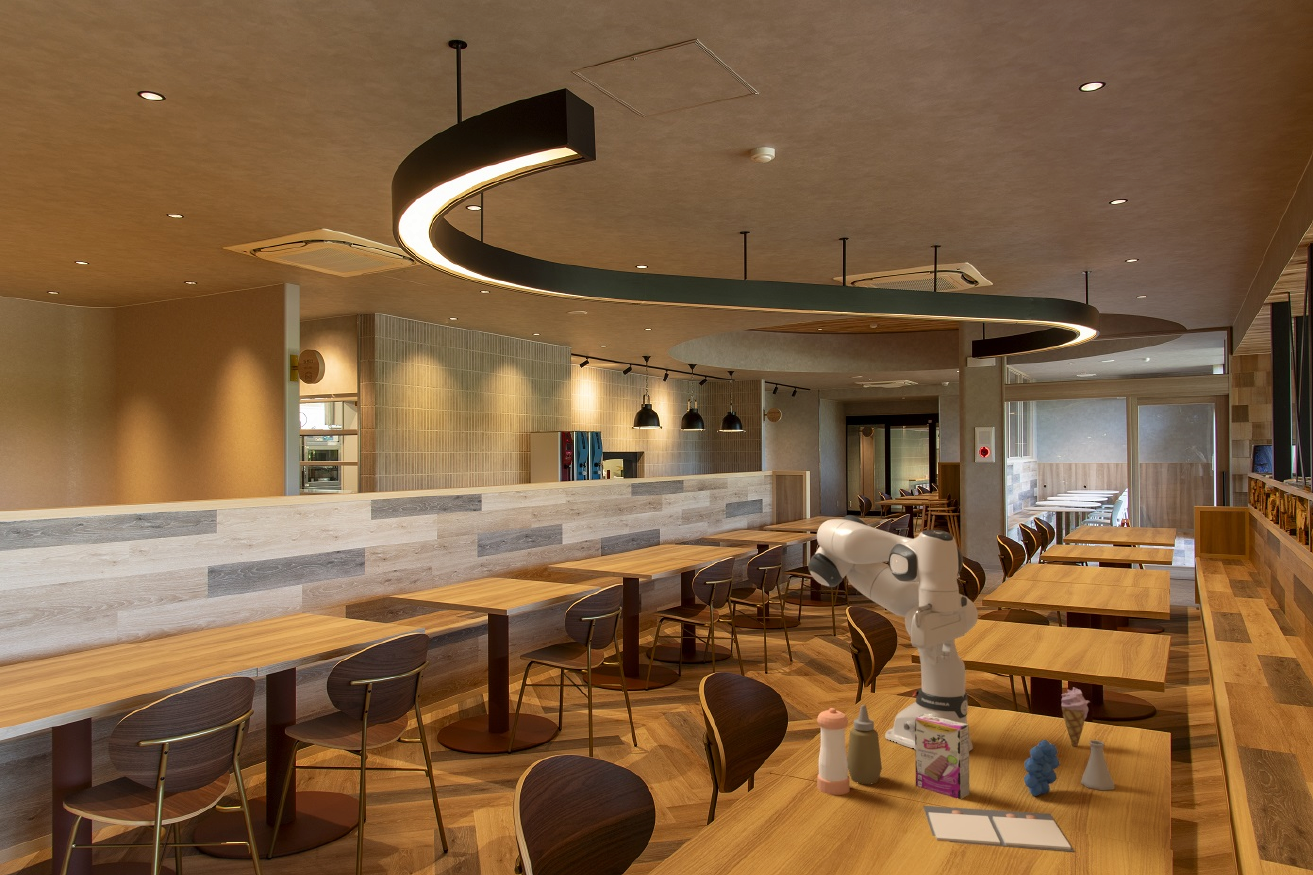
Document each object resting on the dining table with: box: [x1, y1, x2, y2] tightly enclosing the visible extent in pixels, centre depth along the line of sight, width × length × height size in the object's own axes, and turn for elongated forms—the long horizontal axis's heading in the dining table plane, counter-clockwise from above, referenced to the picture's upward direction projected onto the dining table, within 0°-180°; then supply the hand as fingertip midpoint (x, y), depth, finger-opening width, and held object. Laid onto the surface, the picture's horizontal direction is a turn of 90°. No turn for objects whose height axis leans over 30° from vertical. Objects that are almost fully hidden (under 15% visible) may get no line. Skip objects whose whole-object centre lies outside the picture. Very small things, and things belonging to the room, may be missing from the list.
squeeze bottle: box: [847, 704, 883, 785], centre depth 200 cm, size 8×8×18 cm
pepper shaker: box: [816, 707, 850, 796], centre depth 195 cm, size 7×7×19 cm
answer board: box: [923, 805, 1075, 853], centre depth 174 cm, size 26×17×1 cm, turn 80°
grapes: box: [1023, 739, 1061, 797], centre depth 193 cm, size 12×7×12 cm, turn 123°
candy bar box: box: [914, 714, 971, 800], centre depth 194 cm, size 11×5×16 cm, turn 45°
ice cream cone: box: [1060, 687, 1091, 747], centre depth 223 cm, size 7×6×15 cm
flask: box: [1080, 739, 1115, 791], centre depth 197 cm, size 7×7×10 cm
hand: (939, 661), depth 194 cm, fingers open, 4 cm apart
